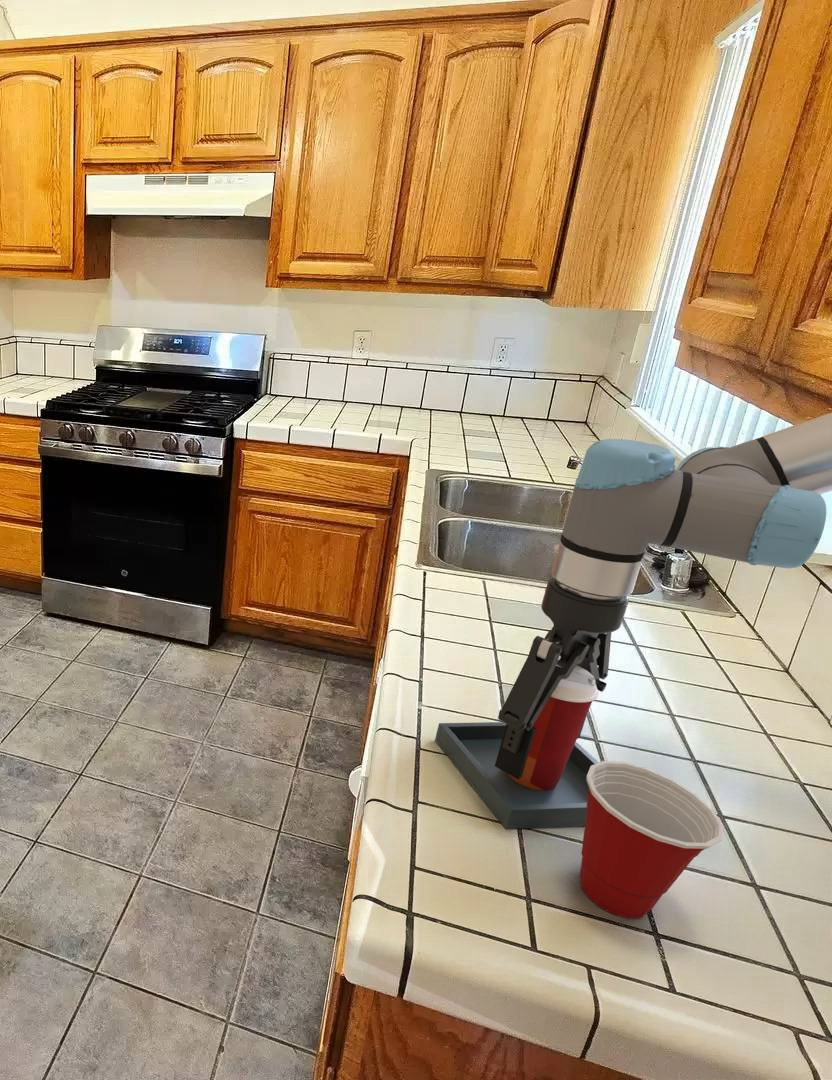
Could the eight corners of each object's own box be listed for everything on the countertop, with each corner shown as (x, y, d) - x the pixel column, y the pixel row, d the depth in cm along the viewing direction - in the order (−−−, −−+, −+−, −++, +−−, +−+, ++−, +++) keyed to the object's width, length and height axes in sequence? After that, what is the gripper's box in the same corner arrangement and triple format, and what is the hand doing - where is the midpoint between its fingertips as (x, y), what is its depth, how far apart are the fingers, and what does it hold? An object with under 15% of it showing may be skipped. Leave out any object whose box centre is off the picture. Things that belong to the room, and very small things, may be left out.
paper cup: (570, 770, 90) (603, 669, 85) (564, 806, 84) (600, 699, 79) (498, 746, 94) (526, 647, 89) (489, 778, 88) (518, 675, 83)
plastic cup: (691, 964, 66) (739, 859, 62) (553, 911, 71) (588, 810, 67) (675, 881, 75) (716, 784, 71) (553, 839, 80) (585, 745, 76)
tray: (638, 824, 83) (645, 805, 82) (505, 829, 81) (511, 810, 80) (549, 737, 97) (554, 720, 96) (434, 740, 96) (438, 722, 95)
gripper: (604, 552, 90) (557, 703, 97) (492, 598, 76) (448, 770, 84) (676, 574, 84) (620, 733, 92) (569, 629, 70) (514, 810, 78)
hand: (538, 751), depth 88 cm, fingers open, 13 cm apart
